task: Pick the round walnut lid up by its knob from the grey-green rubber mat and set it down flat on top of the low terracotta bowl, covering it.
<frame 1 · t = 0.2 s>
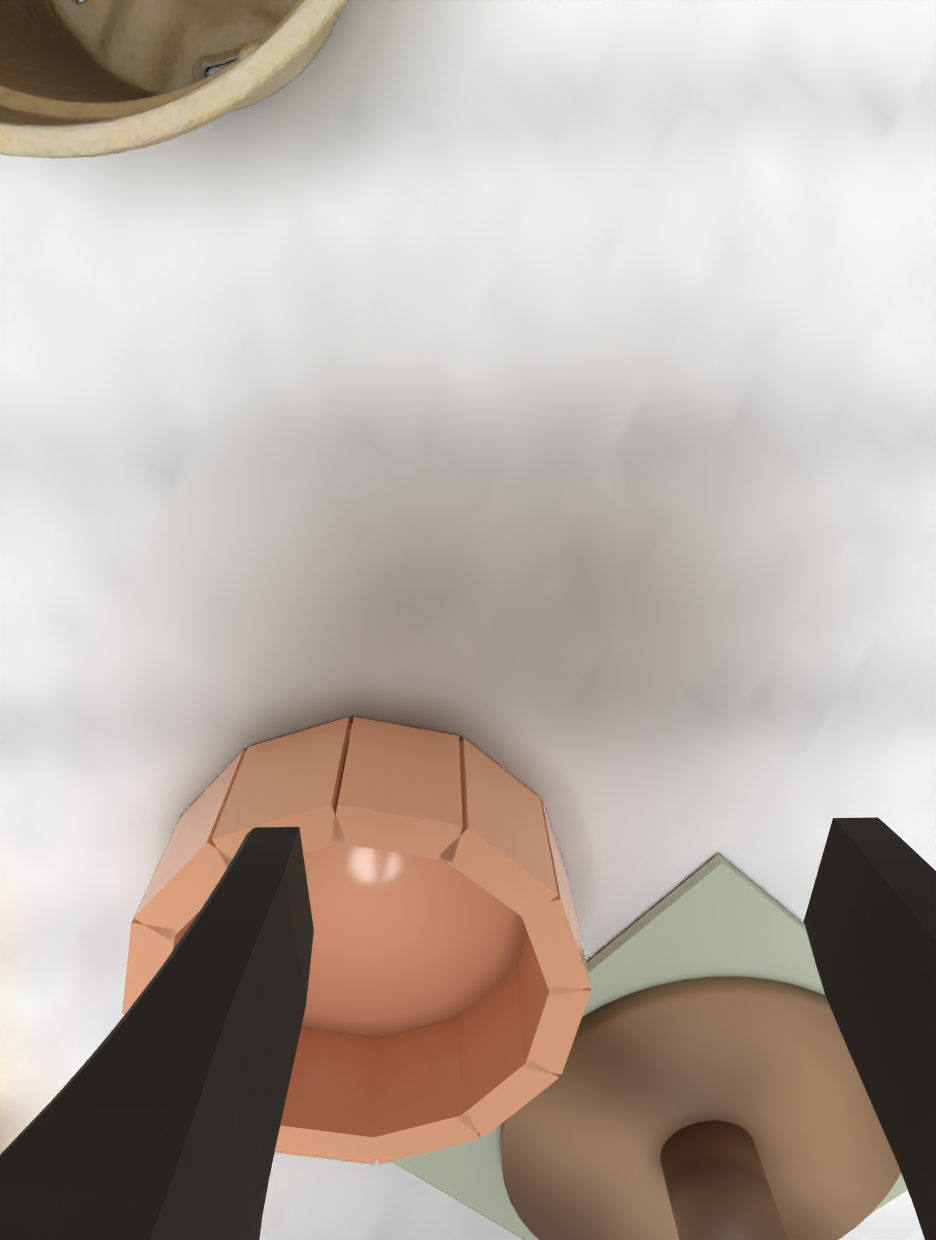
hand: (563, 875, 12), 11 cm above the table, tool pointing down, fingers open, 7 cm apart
walnut lid: (717, 1188, 27), on the rubber mat
terracotta bowl: (369, 893, 25), on the table
rubber mat: (697, 1120, 29), on the table
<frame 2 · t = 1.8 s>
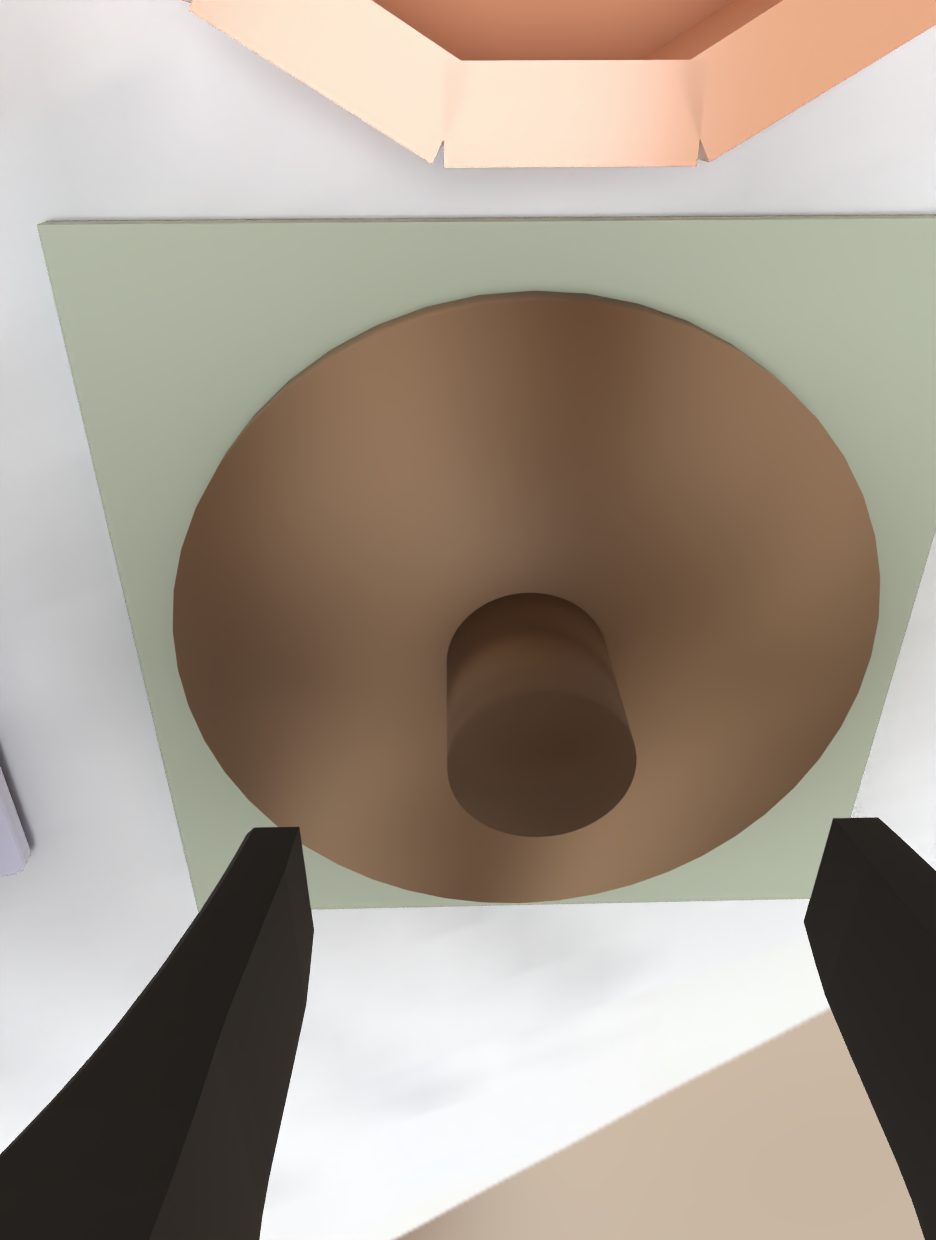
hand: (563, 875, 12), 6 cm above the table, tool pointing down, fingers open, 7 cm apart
walnut lid: (531, 697, 16), on the rubber mat
rubber mat: (521, 629, 18), on the table
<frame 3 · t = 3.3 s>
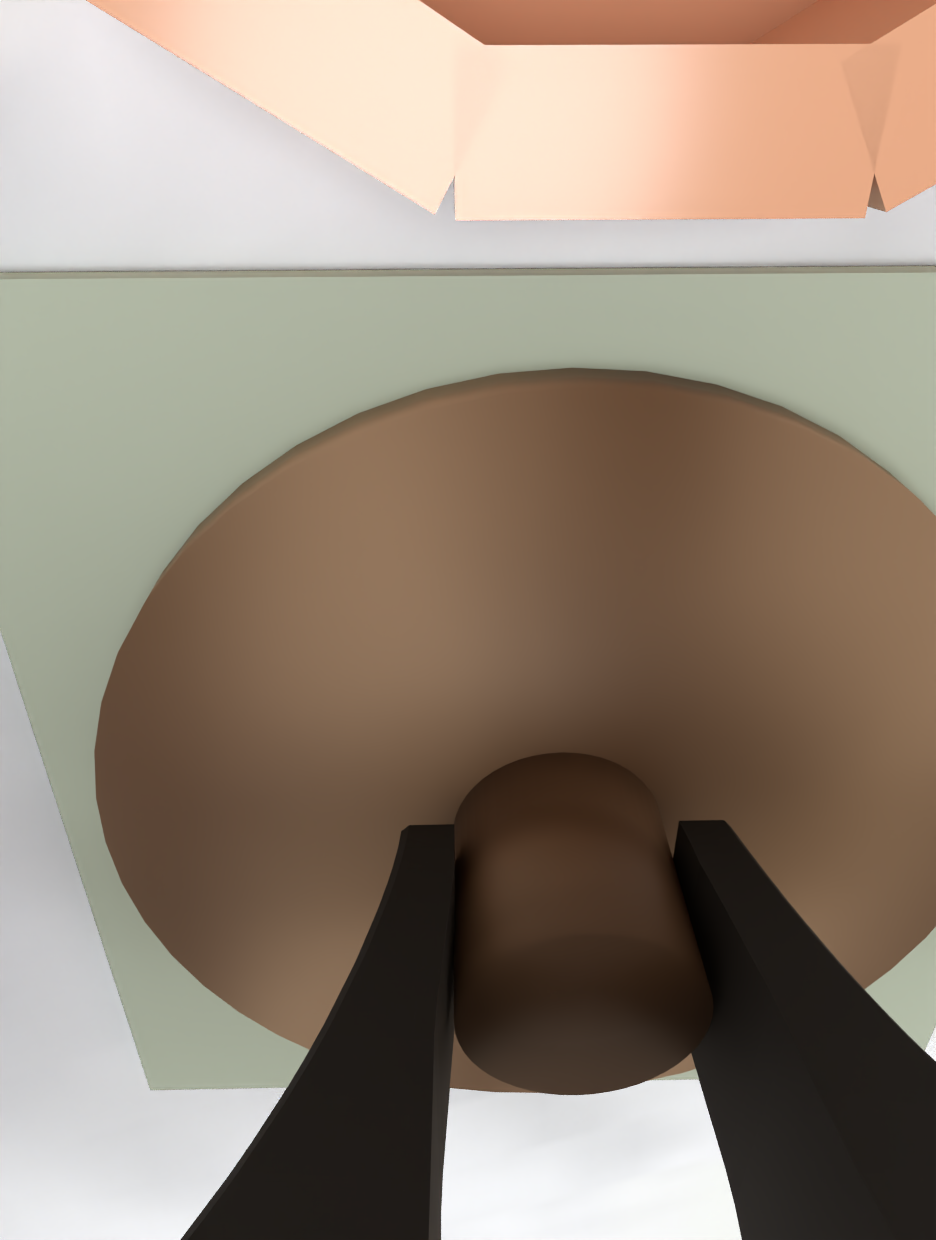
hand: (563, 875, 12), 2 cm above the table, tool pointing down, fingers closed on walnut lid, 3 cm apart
walnut lid: (565, 892, 12), on the rubber mat, touching gripper
rubber mat: (549, 777, 14), on the table
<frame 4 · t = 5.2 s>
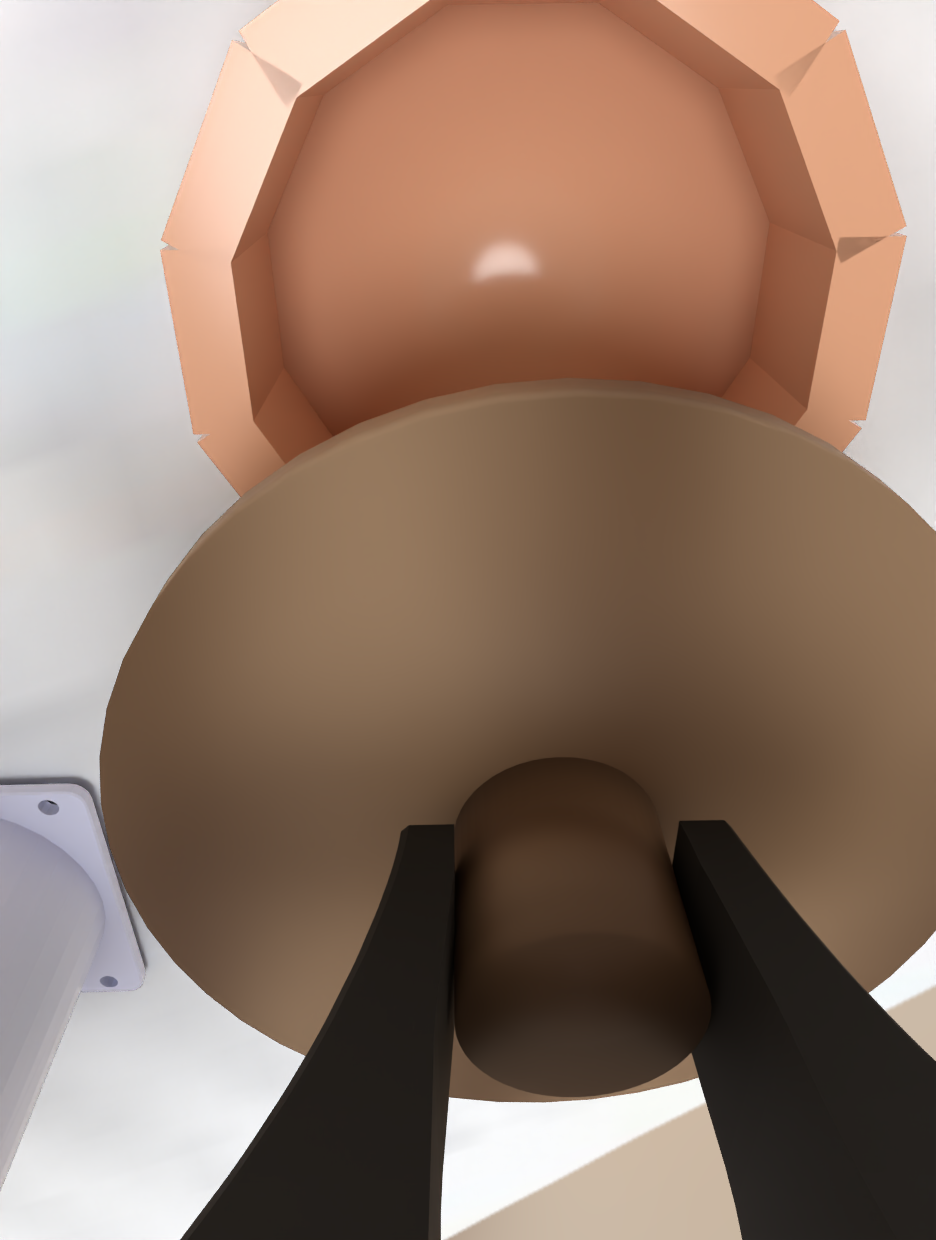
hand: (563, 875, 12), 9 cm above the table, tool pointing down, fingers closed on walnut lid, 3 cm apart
walnut lid: (564, 895, 12), point 10 cm above the table, touching gripper
terracotta bowl: (515, 288, 17), on the table
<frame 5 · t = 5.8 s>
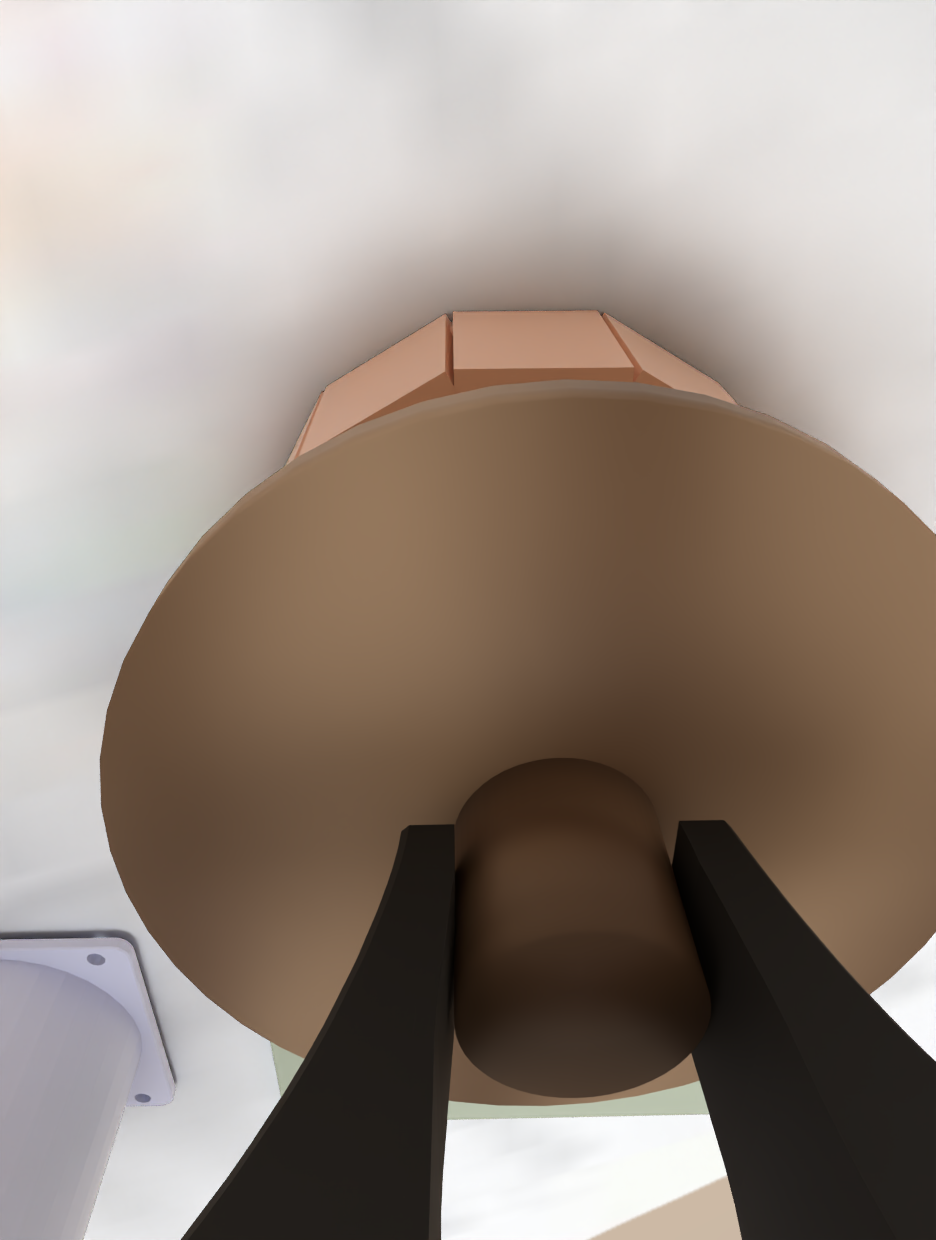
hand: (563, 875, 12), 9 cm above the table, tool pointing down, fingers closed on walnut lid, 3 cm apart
walnut lid: (564, 896, 12), point 10 cm above the table, touching gripper
terracotta bowl: (517, 563, 20), on the table
rubber mat: (506, 967, 27), on the table
when the fingers open (7 cm above the table, at t = 6.5 s): walnut lid stays where it is, resting on terracotta bowl.
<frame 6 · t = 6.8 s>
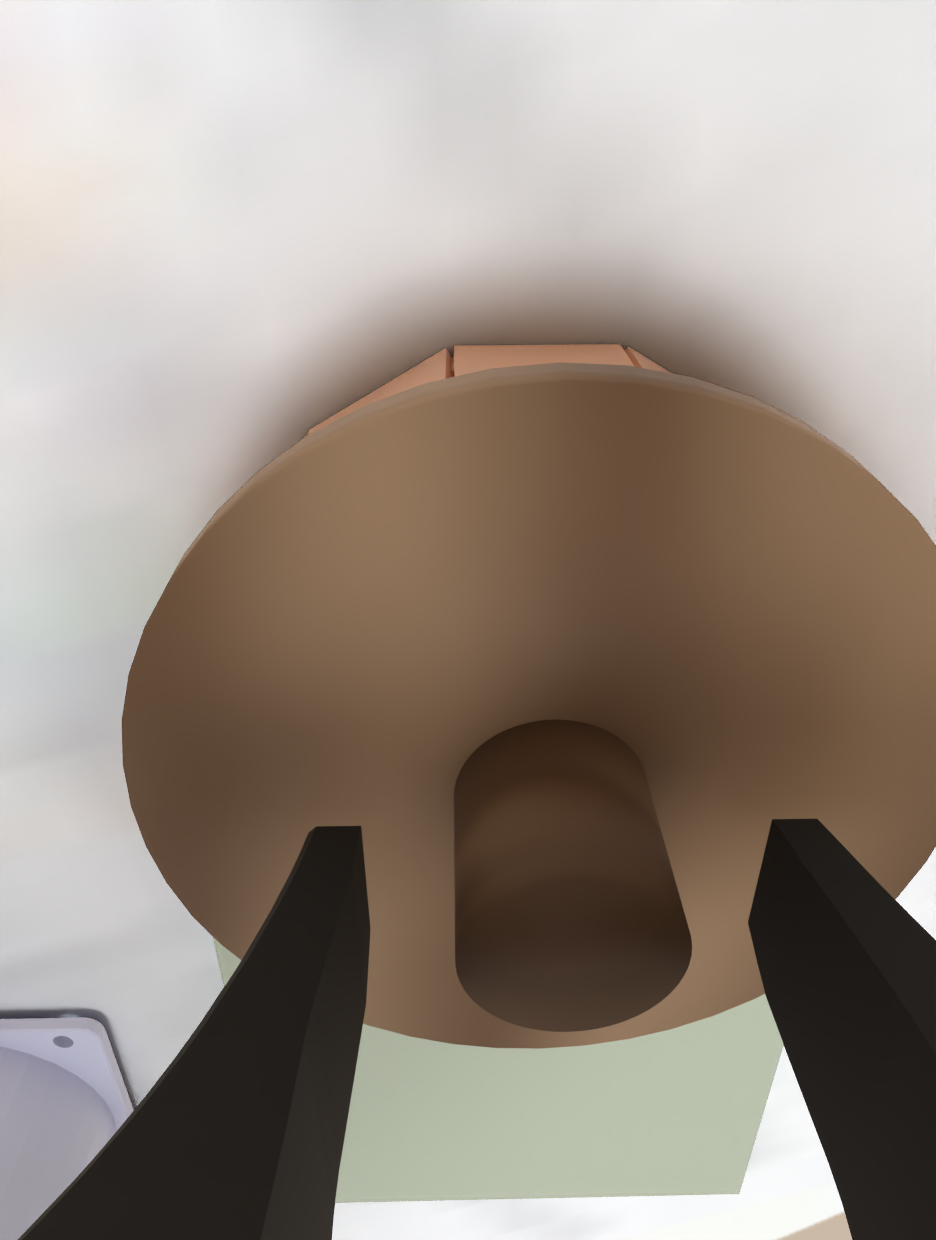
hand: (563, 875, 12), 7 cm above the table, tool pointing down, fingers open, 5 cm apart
walnut lid: (557, 848, 13), on the terracotta bowl, point 6 cm above the table
terracotta bowl: (527, 623, 18), on the table
rubber mat: (511, 1046, 25), on the table
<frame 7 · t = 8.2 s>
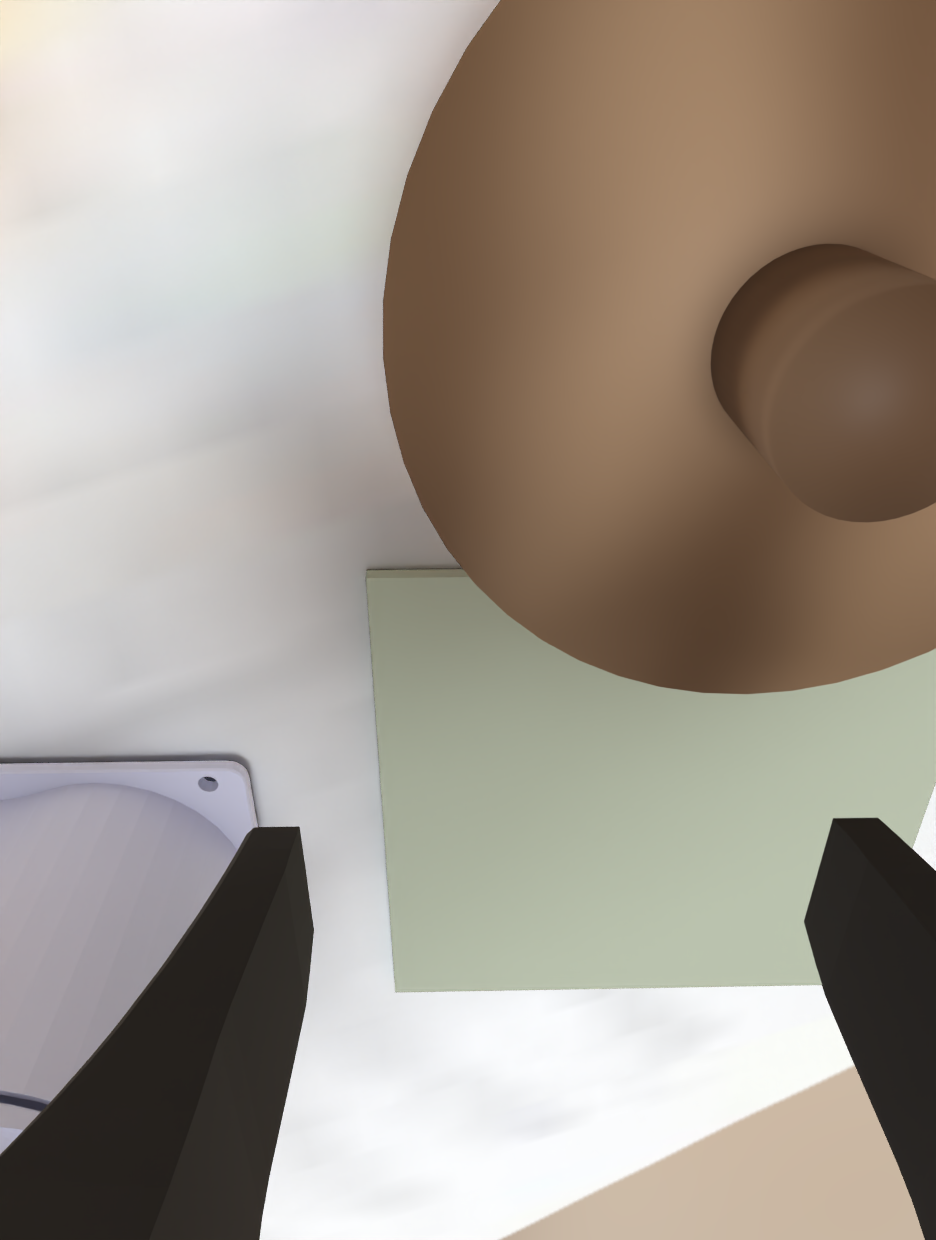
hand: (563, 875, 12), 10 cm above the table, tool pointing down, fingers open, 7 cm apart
walnut lid: (836, 369, 13), on the terracotta bowl, point 6 cm above the table
rubber mat: (652, 804, 25), on the table
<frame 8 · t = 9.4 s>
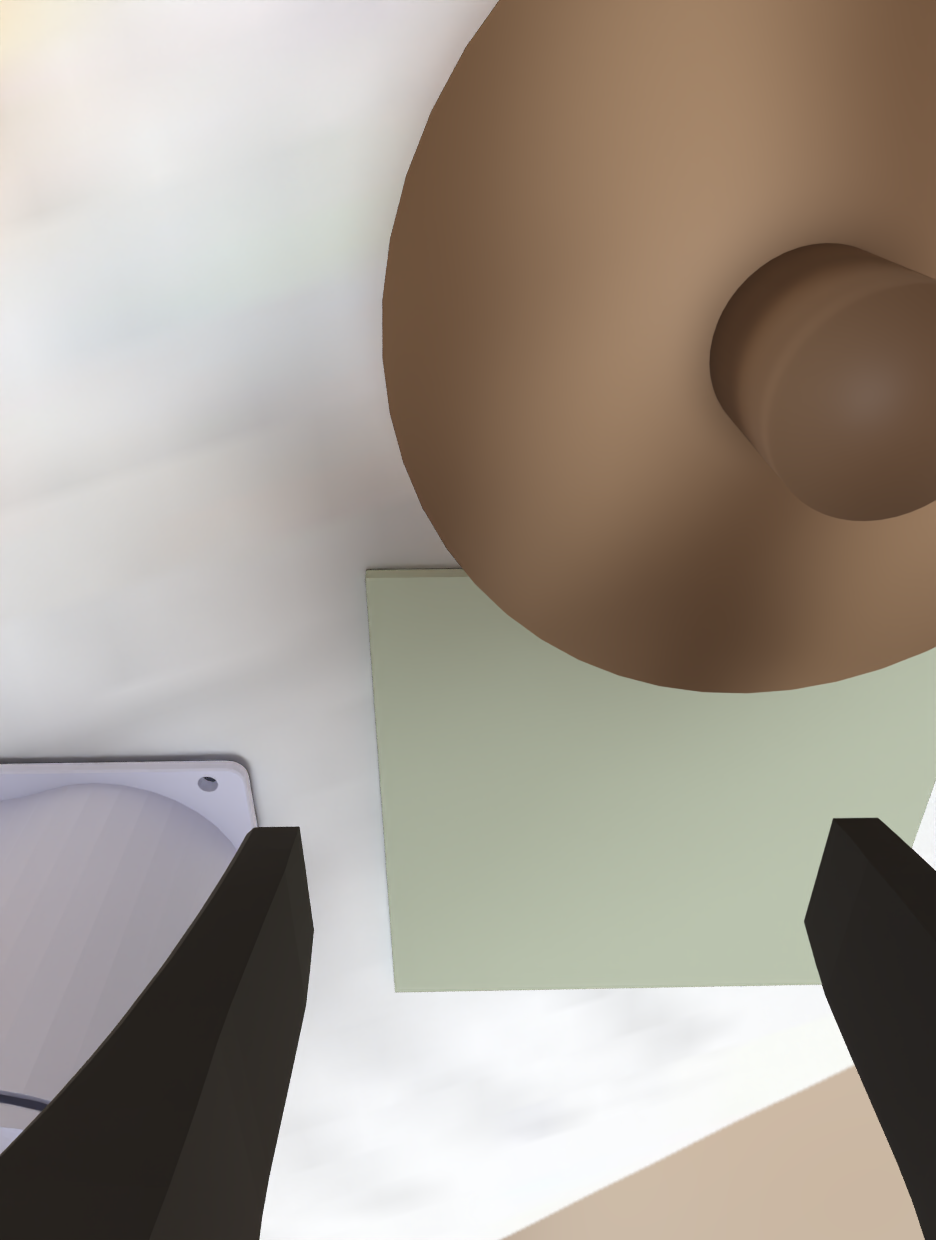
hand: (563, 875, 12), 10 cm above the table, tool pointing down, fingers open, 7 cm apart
walnut lid: (834, 368, 13), on the terracotta bowl, point 6 cm above the table
rubber mat: (652, 803, 25), on the table
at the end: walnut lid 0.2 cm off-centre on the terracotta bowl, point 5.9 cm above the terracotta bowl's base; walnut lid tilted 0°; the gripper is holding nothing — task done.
